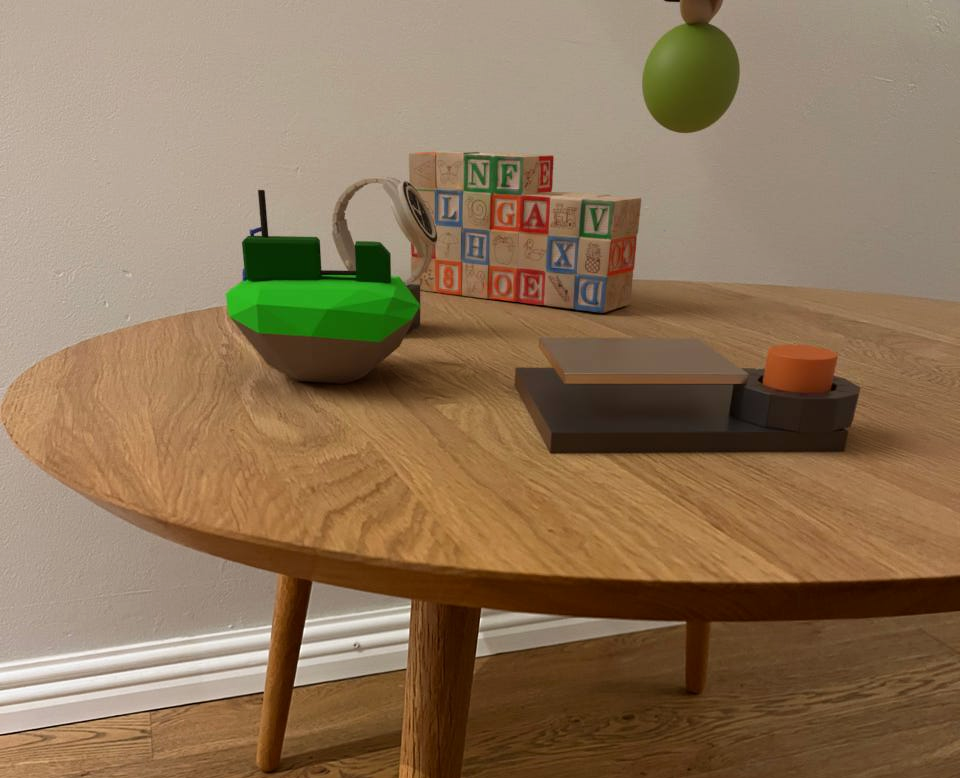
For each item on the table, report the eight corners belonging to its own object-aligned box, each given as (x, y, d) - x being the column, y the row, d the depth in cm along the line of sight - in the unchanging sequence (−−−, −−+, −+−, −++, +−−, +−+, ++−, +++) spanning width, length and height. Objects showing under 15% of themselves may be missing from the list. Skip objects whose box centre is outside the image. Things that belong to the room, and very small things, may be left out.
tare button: (813, 381, 53) (821, 344, 52) (841, 398, 49) (849, 359, 48) (752, 381, 52) (758, 344, 51) (776, 398, 49) (783, 359, 48)
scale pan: (696, 348, 58) (698, 338, 57) (747, 384, 50) (749, 373, 50) (538, 347, 57) (538, 337, 56) (564, 384, 49) (565, 373, 49)
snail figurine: (748, 134, 56) (787, -120, 50) (712, 135, 51) (751, -146, 45) (664, 130, 58) (691, -113, 52) (622, 131, 53) (647, -137, 47)
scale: (769, 386, 62) (778, 340, 60) (868, 454, 50) (881, 398, 48) (514, 386, 60) (516, 338, 59) (550, 456, 48) (554, 398, 46)
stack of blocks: (632, 306, 87) (647, 158, 81) (603, 315, 83) (617, 160, 76) (443, 281, 97) (444, 148, 91) (408, 289, 92) (407, 149, 86)
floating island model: (222, 401, 55) (199, 197, 50) (247, 356, 65) (231, 183, 60) (423, 402, 56) (422, 202, 51) (418, 358, 66) (417, 187, 61)
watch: (426, 339, 72) (426, 181, 66) (328, 332, 73) (320, 177, 68) (443, 325, 77) (444, 177, 71) (350, 319, 78) (344, 173, 73)
